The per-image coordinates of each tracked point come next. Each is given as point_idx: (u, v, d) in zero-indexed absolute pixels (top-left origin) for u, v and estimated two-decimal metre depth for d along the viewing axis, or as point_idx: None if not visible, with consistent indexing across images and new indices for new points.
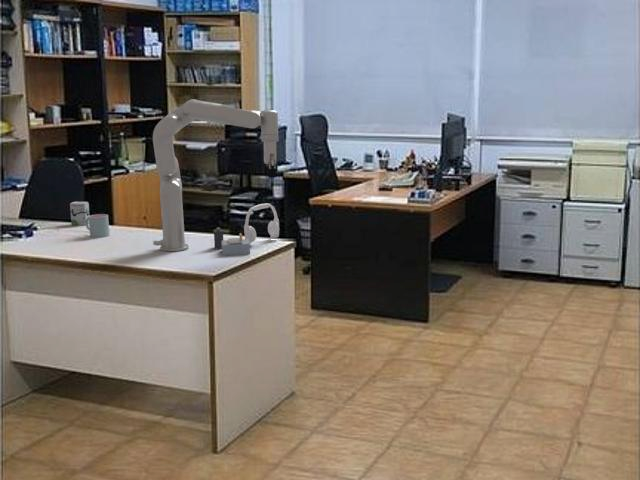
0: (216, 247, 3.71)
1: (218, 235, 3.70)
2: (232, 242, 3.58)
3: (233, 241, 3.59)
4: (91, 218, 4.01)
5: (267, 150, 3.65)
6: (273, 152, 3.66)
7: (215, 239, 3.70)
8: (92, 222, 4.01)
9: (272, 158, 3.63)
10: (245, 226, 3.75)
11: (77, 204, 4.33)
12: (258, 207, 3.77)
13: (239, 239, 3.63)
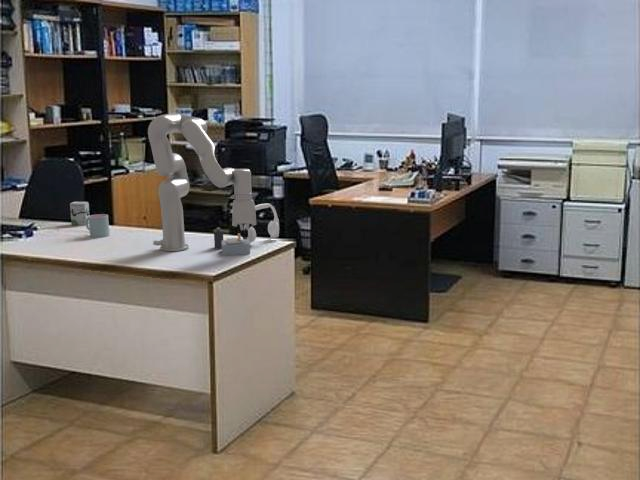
0: (216, 247, 3.71)
1: (218, 235, 3.70)
2: (230, 242, 3.58)
3: (231, 241, 3.59)
4: (91, 218, 4.01)
5: (254, 208, 3.59)
6: None
7: (215, 239, 3.70)
8: (92, 222, 4.01)
9: (255, 221, 3.62)
10: (245, 226, 3.75)
11: (77, 204, 4.33)
12: (258, 207, 3.77)
13: (237, 239, 3.63)
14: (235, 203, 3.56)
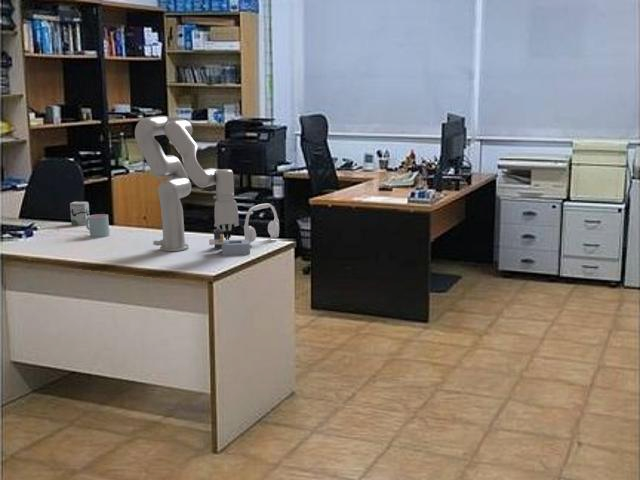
0: (216, 247, 3.71)
1: (218, 235, 3.70)
2: (213, 243, 3.57)
3: (214, 242, 3.58)
4: (91, 218, 4.01)
5: (237, 209, 3.58)
6: None
7: None
8: (92, 222, 4.01)
9: (238, 222, 3.61)
10: (245, 226, 3.75)
11: (77, 204, 4.33)
12: (258, 207, 3.77)
13: (220, 240, 3.62)
14: (217, 204, 3.55)
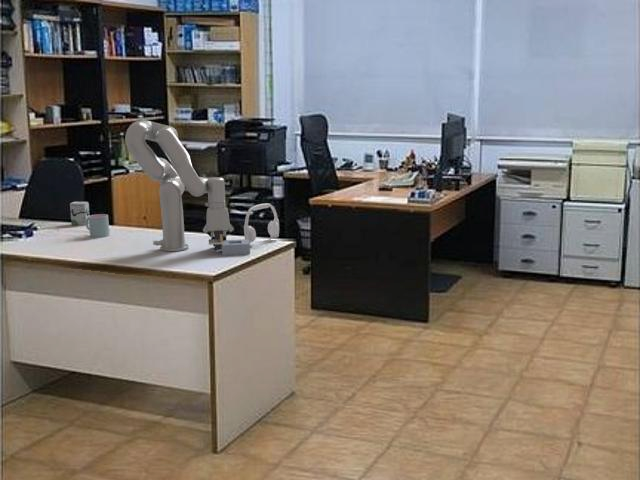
0: (216, 247, 3.71)
1: (218, 235, 3.70)
2: (212, 243, 3.57)
3: (213, 242, 3.58)
4: (91, 218, 4.01)
5: (228, 216, 3.69)
6: None
7: None
8: (92, 222, 4.01)
9: None
10: (245, 226, 3.75)
11: (77, 204, 4.33)
12: (258, 207, 3.78)
13: (219, 240, 3.62)
14: (209, 211, 3.66)
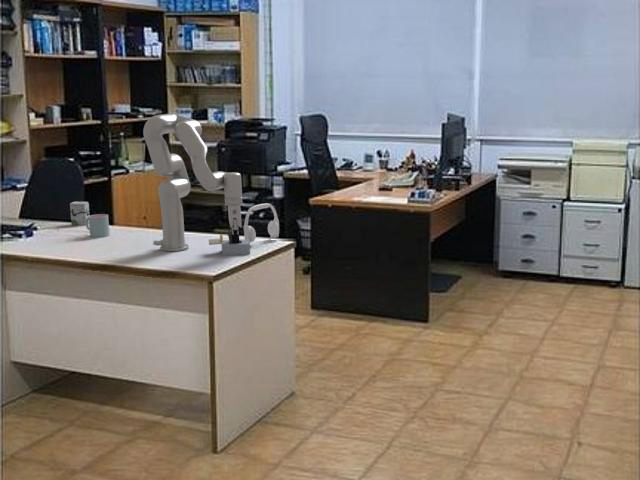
0: None
1: None
2: (212, 243, 3.57)
3: (213, 242, 3.58)
4: (91, 218, 4.01)
5: None
6: None
7: None
8: (92, 222, 4.01)
9: None
10: (245, 226, 3.75)
11: (77, 204, 4.33)
12: (258, 207, 3.78)
13: (219, 240, 3.62)
14: (239, 207, 3.56)
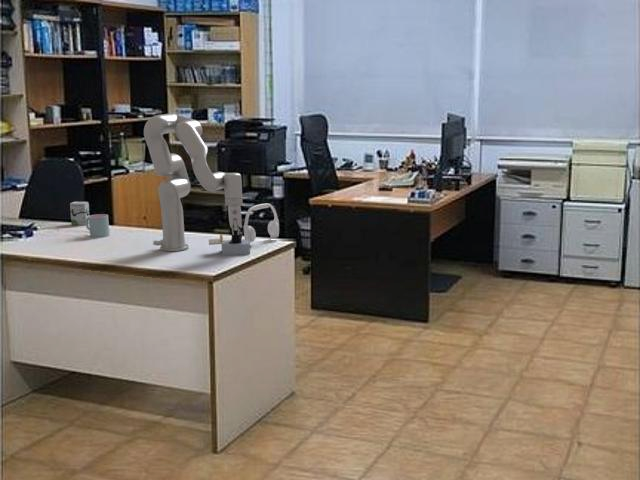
0: None
1: None
2: (212, 243, 3.57)
3: (213, 242, 3.58)
4: (91, 218, 4.01)
5: None
6: None
7: (240, 241, 3.61)
8: (92, 222, 4.01)
9: None
10: (245, 226, 3.75)
11: (77, 204, 4.33)
12: (258, 207, 3.78)
13: (219, 240, 3.62)
14: (240, 207, 3.56)
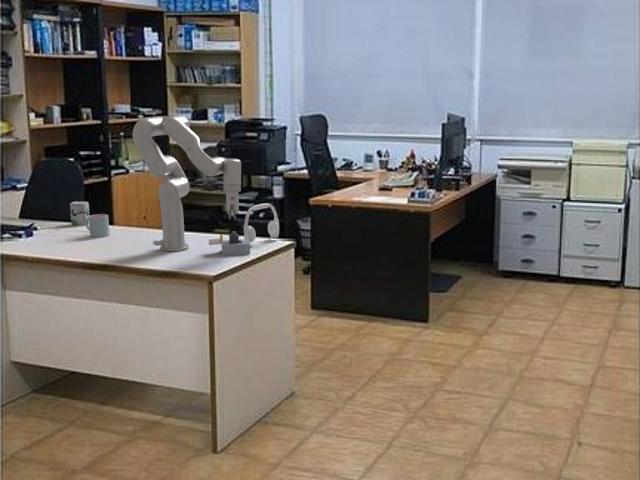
0: None
1: None
2: (212, 243, 3.57)
3: (213, 242, 3.58)
4: (91, 218, 4.01)
5: None
6: None
7: None
8: (92, 222, 4.01)
9: None
10: (245, 226, 3.75)
11: (77, 204, 4.33)
12: (258, 207, 3.78)
13: (219, 240, 3.62)
14: (237, 193, 3.57)
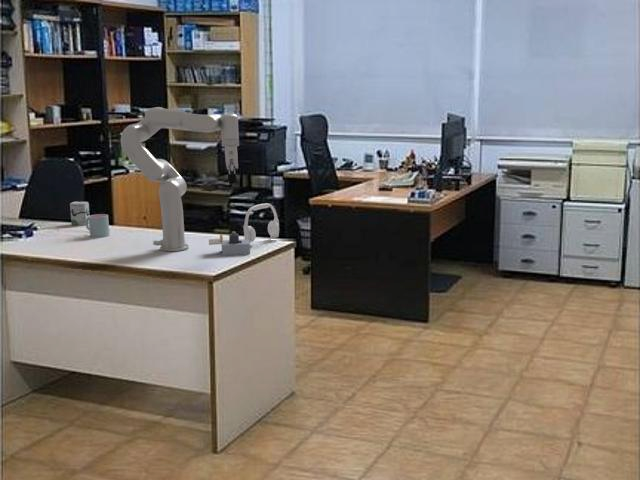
0: None
1: None
2: (212, 243, 3.57)
3: (213, 242, 3.58)
4: (91, 218, 4.01)
5: None
6: None
7: None
8: (92, 222, 4.01)
9: None
10: (244, 226, 3.75)
11: (77, 204, 4.33)
12: (258, 207, 3.78)
13: (219, 240, 3.62)
14: (236, 148, 3.57)
